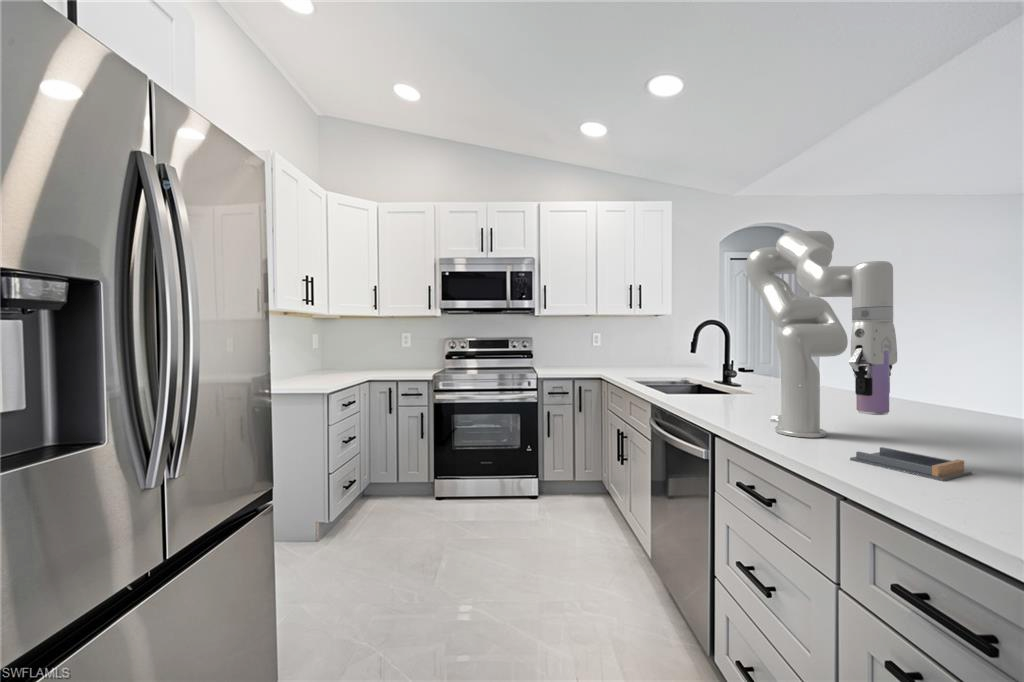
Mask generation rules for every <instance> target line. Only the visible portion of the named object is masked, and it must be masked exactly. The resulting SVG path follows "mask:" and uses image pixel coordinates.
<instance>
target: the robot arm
mask: <svg viewBox="0 0 1024 682" xmlns="http://www.w3.org/2000/svg"><path fill="white" fill-rule="evenodd" d="M834 247H835V242H834V239H833V237H832V235H831V234H829V232H826V231H823V230H795V231H793V230H792V231H789V232H786V233H784V234H782V235H781V236H779V238H778V239H777V241H776V244H775V246H769V247H768V246H767V247H760V248H757V249H754V250H753V251H752V252H750V253H749V254H748V256H747V259H746V263H745V265H746V266H745V267H746V268H745V269H746V275H747V277H748V281H749V283H750V284H751V286H752V287H753V288H754V290H755V291H756V292H757V293H758V295H759V297H760V298H761V300H762V303H763V305H764V307H765V308H766V310H767V313H768V315H769V318H770V319H771V321H772V322H773V324H774V325H775V326H777V327H779V328H780V330H779V331H778V333H777V336H776V342H777V348H778V354H779V359H780V394H781V396H780V406H781V407H780V408H781V409H780V415H777V414H773V415H772V416H771V417H770V418H769V420H770V422H772V423H777V426H775V429H774V430H775V432H776V433H778V434H780V435H786V436H790V437H796V438H797V437H798V438H807V439H808V438H809V439H810V438H811V439H812V438H813V439H814V438H815V439H816V438H824V437H826V436H827V431H826V430H824V429H822V428H821V423H820V422H821V381H820V380H821V373H820V370H819V368H818V366H817V364H816V363H815V362H814V360H813V358H816V357H818V358H820V357H821V358H823V357H825V358H826V357H827V358H828V357H836V356H840V355H842V354H843V353H845V351H846V350H847V348H848V342H849V339H848V336H847V332H846V330H845V328H844V327H843V325H842V323H841V321H840V319H839V318H838V316H837V314H836V313H835V312H834V309H833V308H832V306H831V304H830V303H829V302H828V301H827V300H825V299H824V298H851V323H852V328H851V335H850V338H851V339H850V359H849V361H848V364H849V365H850V367H851V369H852V371H853V376H854V377H853V378H855V382H854V383H855V385H854V386H855V387H854V388H855V395H856V394H857V395H865V396H871V395H872V378H870V374H871V370H872V365H874V366H880V365H882V364H884V354H883V353H885V352H884V351H885V349H887V351H888V353H889V394H890V393H891V392H890V391H891V389H890V388H891V385H890V384H891V381H890V379H891V375H892V373H891V372H892V369H893V365H895V364H896V363H898V346H897V344H898V343H897V337H896V328H895V324H894V266H893V264H892V263H891V262H889V261H886V260H871V261H864V262H859V263H856V264H855V265H850V266H848V265H843V266H842V265H838V266H837V265H836V266H835V265H834V266H833V265H832V266H831V265H830V264H831V262H832V260H833V252H834ZM793 274H794V275H795V277H796V280H797V283H798V284H799V285H800V286H801V288H803V290H805V291H807V292H808V293H810V294H812V296H799V295H796V293H795V292H794V291H793V290H792V288H791V286H790V284H789V283H787V281H786V280H784V279H783V278H781V277H779V276H778V275H793ZM813 295H814V296H813ZM861 361H866V362H867V363H868V364H862V363H860V362H861ZM863 367H866V370H864V368H863Z"/></svg>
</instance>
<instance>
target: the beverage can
mask: <svg viewBox="0 0 1024 682" xmlns="http://www.w3.org/2000/svg"><path fill="white" fill-rule="evenodd" d="M884 352H885V353H883V354H884V364H882V365H880V366H874V365H872V370H871V374H870V378H872V395H871V396H865V395H857V394H856V393H855V395H856V410H857V412H858V413H860V414H862V415H863V414H864V415H870V416H871V415H872V416H885V415H888V414H889V412H890V393H889V353H888V351H887V349H885V351H884ZM860 363H862V364H868V363H867V362H866V361H861V362H860ZM863 368H864V370H866V367H863Z"/></svg>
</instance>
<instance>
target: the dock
mask: <svg viewBox="0 0 1024 682" xmlns="http://www.w3.org/2000/svg"><path fill="white" fill-rule="evenodd" d="M849 461H854V462H858V463H862V464H866V463H867V465H870V464H871V466H875V465H876V467H879V466H881V467H880V468H883V467H885V469H888V468H890V469H889V470H892V469H895V470H894V471H896V470H900V471H899V472H901V471H905V472H909V473H908V474H910V473H914V474H918V475H922V476H921V477H923V476H925V477H924V478H927V477H930V478H929V479H931V478H934V479H933V480H936V479H938V480H937V481H940V480H942V481H941V482H945V481H944V480H946V481H949V479H950V480H953V479H957V478H960V477H964V476H969V475H972V474H973V471H972V470H968V469H965V460H964V459H954V460H950V459H945V458H940V457H935V456H929V455H925V454H919V453H914V452H910V451H904V450H899V449H893V448H889V447H883V446H880V447H879V452H874V453H867V452H863V451H856V453H855V456H853V457H850V458H849ZM905 472H904V473H905ZM914 474H913V475H914ZM918 475H917V476H918ZM952 478H953V479H952Z"/></svg>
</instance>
